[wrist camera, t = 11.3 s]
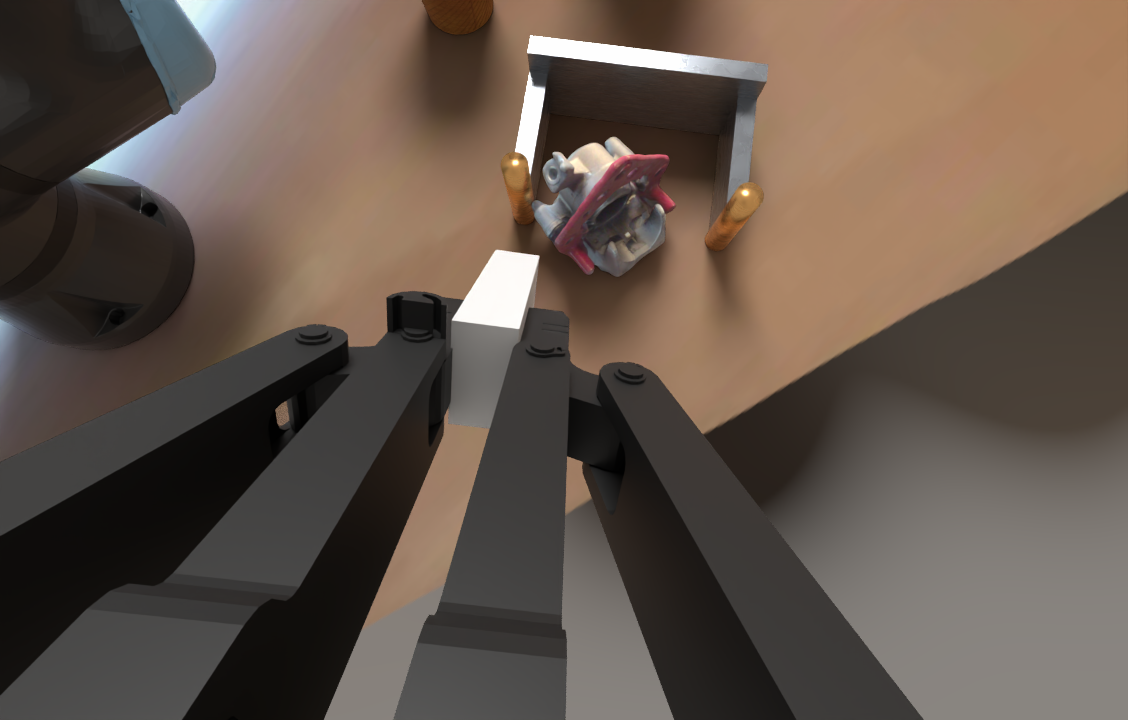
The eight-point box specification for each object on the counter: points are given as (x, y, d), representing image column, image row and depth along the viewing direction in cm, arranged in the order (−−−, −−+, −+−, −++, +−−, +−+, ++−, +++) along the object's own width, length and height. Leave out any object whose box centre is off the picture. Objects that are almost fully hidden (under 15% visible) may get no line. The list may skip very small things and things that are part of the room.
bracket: (511, 223, 43) (498, 175, 35) (534, 96, 45) (526, 24, 37) (726, 252, 43) (762, 210, 35) (740, 122, 44) (776, 54, 37)
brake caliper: (610, 320, 39) (547, 197, 31) (546, 268, 47) (482, 158, 39) (715, 235, 40) (683, 94, 32) (636, 198, 48) (593, 76, 40)
